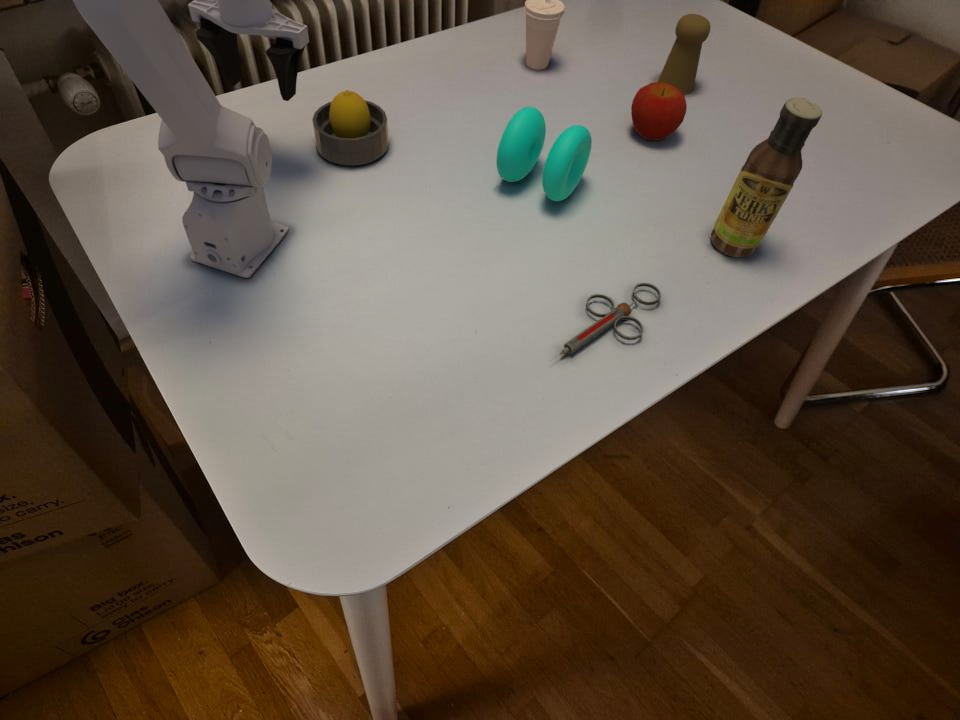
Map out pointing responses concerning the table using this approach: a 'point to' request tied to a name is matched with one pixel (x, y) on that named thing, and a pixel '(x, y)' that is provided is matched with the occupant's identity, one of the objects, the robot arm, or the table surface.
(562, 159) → the donuts
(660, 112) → the apple
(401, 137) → the table surface
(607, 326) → the syringe
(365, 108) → the lemon
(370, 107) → the bowl
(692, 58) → the pawn
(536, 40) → the smoothie
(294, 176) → the table surface
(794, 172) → the sauce bottle
